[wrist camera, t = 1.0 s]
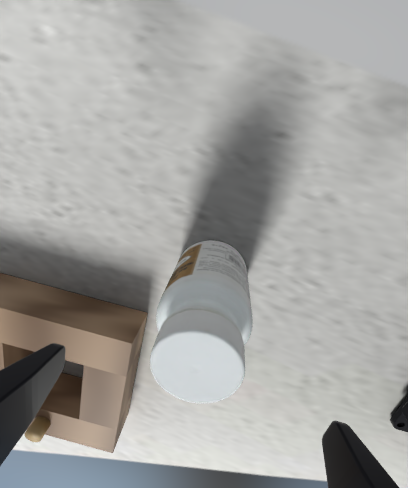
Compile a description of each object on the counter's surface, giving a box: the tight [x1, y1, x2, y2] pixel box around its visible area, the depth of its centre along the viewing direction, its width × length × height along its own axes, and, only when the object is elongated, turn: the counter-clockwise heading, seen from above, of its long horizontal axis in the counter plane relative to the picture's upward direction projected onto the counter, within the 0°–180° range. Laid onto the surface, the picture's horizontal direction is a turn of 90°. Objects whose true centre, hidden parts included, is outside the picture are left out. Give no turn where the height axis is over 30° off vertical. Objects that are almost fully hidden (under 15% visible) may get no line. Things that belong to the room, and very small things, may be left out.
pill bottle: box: [150, 240, 253, 403], centre depth 12 cm, size 4×4×8 cm
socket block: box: [0, 273, 148, 453], centre depth 18 cm, size 11×11×4 cm
